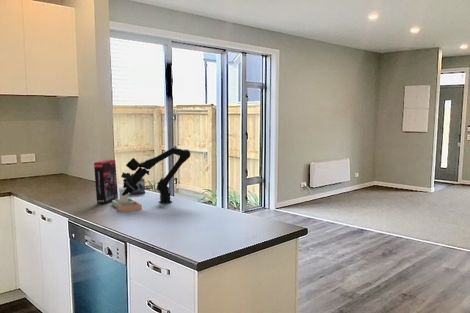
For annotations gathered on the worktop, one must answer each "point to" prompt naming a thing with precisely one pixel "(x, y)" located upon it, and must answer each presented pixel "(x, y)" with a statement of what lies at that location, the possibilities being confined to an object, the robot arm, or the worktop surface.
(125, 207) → the frame
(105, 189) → the graphics card box
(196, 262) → the worktop surface
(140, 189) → the small box
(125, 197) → the cream rectangular block
